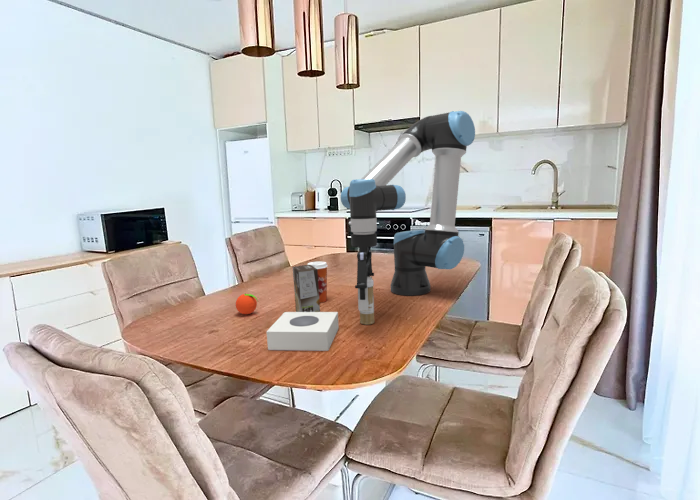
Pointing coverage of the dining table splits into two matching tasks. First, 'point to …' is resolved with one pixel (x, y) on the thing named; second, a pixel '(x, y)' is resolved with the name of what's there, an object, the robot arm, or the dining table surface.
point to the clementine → (246, 303)
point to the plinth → (303, 331)
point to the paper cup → (321, 279)
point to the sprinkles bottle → (368, 315)
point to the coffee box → (306, 288)
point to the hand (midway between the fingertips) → (365, 303)
